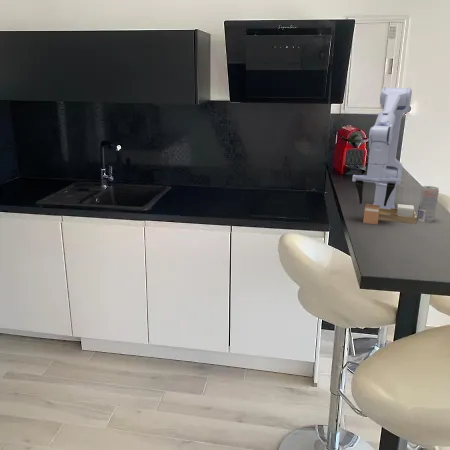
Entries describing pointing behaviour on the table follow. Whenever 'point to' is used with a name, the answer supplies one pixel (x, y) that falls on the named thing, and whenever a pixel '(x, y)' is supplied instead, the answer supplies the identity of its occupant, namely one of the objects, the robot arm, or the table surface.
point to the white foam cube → (405, 210)
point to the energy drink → (428, 204)
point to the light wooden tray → (395, 216)
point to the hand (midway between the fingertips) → (372, 204)
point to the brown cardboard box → (371, 213)
